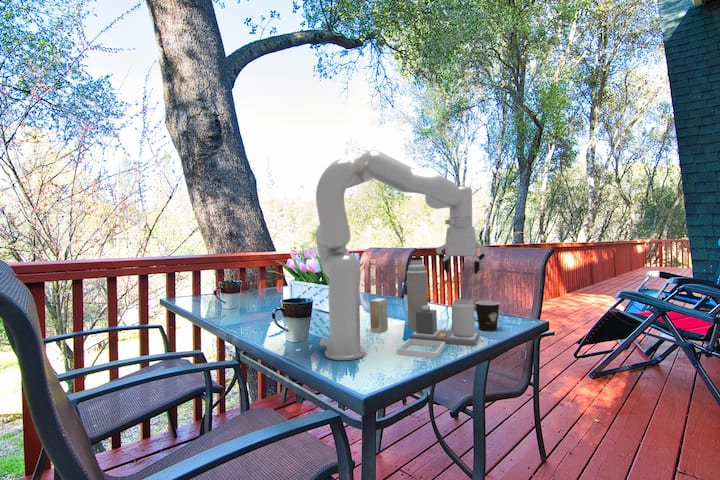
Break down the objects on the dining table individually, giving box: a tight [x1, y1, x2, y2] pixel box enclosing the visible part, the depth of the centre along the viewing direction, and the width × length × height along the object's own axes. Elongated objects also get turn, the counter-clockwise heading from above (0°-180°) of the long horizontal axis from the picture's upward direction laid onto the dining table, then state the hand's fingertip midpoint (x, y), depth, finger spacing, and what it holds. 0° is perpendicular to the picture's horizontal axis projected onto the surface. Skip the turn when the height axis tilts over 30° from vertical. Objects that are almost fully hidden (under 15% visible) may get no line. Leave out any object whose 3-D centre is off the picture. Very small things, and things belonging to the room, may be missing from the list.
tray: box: [396, 338, 446, 359], centre depth 118 cm, size 12×12×2 cm
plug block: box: [415, 304, 438, 335], centre depth 134 cm, size 6×6×9 cm
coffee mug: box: [474, 300, 500, 332], centre depth 143 cm, size 12×9×10 cm
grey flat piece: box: [409, 329, 481, 347], centre depth 131 cm, size 22×12×2 cm, turn 65°
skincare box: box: [369, 297, 389, 334], centre depth 144 cm, size 6×4×12 cm
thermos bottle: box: [406, 256, 429, 331], centre depth 147 cm, size 8×8×28 cm
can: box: [451, 298, 476, 337], centre depth 128 cm, size 8×8×12 cm
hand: (461, 273), depth 128 cm, fingers open, 9 cm apart
